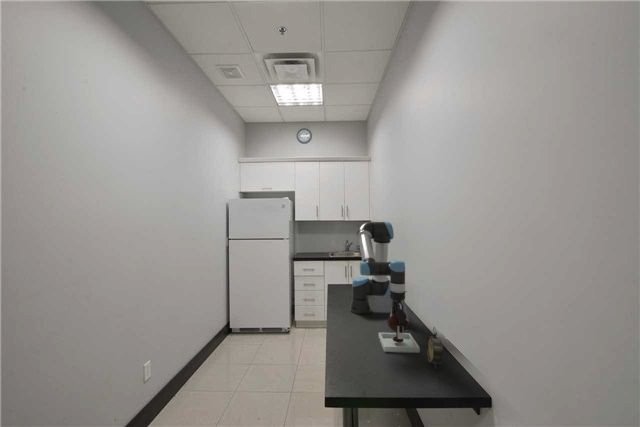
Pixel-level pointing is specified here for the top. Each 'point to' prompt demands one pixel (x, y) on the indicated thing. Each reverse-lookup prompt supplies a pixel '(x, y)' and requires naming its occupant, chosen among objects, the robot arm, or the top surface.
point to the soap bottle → (403, 309)
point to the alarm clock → (434, 349)
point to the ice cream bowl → (393, 325)
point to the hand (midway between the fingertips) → (397, 333)
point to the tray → (398, 343)
